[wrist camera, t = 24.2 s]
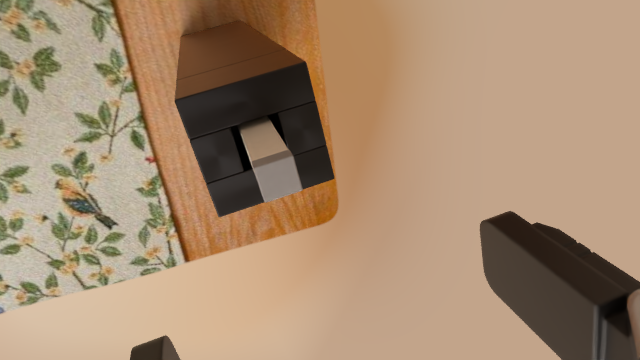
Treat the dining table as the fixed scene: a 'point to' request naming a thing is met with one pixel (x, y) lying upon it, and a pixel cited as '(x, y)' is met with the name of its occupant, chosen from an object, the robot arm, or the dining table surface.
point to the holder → (246, 109)
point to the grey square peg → (270, 159)
